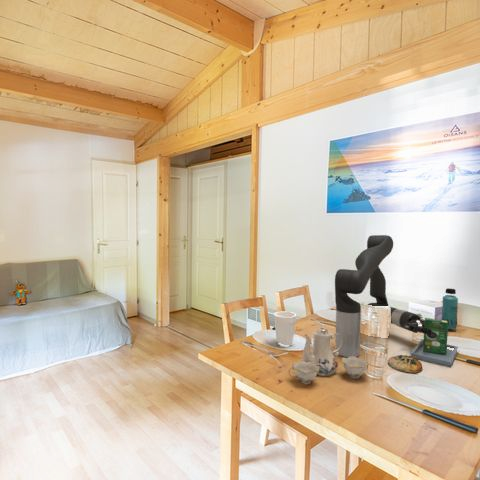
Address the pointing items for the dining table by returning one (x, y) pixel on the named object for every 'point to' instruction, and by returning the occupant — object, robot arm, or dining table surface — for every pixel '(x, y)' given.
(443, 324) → the coffee box
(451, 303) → the beverage bottle
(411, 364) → the bread roll
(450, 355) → the dish
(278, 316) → the foam cup
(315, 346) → the chinaware
